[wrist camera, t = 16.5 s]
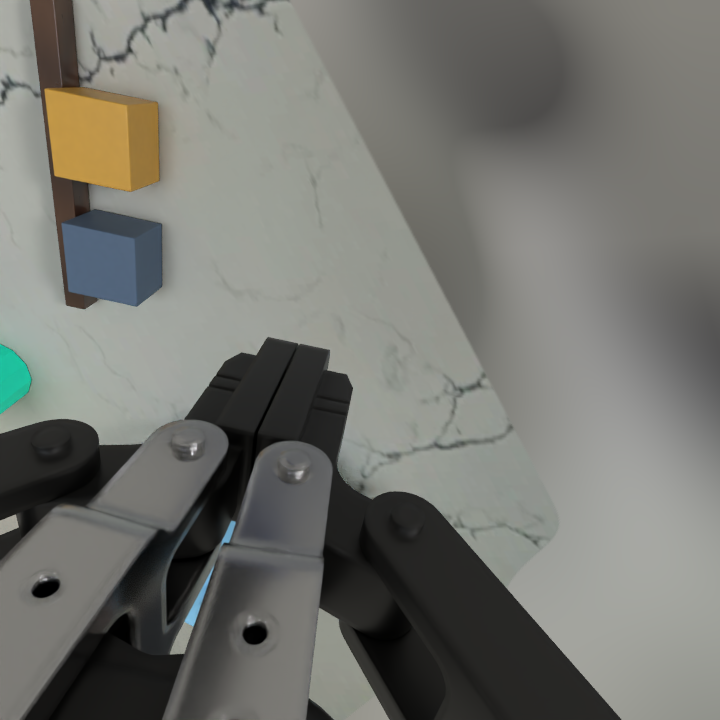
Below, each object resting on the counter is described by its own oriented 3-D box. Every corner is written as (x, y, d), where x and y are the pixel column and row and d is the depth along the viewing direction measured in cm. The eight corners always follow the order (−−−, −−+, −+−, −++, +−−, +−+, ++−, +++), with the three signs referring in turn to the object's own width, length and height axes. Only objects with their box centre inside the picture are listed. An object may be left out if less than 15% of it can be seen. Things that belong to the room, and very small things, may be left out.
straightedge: (48, -6, 31) (28, -10, 29) (72, -1, 31) (53, -5, 29) (79, 296, 41) (65, 305, 39) (97, 300, 41) (84, 309, 39)
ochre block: (83, 86, 33) (43, 87, 30) (158, 102, 33) (127, 104, 30) (90, 166, 36) (53, 176, 32) (159, 181, 36) (131, 192, 32)
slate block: (94, 208, 37) (60, 222, 34) (162, 223, 37) (134, 238, 33) (99, 273, 39) (68, 291, 36) (162, 286, 39) (137, 307, 36)
